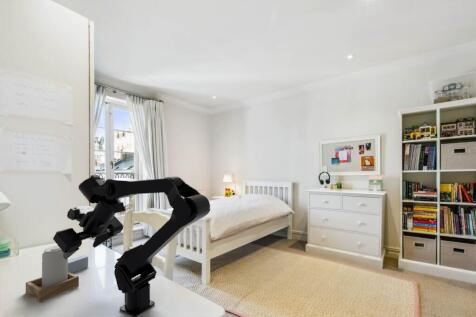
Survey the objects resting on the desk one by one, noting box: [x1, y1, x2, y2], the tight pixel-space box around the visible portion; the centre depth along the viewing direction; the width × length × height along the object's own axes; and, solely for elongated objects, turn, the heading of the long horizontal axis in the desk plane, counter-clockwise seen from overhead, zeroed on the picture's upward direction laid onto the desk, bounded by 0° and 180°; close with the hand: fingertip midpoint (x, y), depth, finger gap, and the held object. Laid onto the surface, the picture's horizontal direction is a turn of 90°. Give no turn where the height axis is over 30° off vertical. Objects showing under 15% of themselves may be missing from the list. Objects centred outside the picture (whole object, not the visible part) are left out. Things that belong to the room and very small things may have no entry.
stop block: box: [68, 254, 89, 274], centre depth 86 cm, size 3×8×4 cm, turn 150°
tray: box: [25, 272, 80, 303], centre depth 73 cm, size 10×10×3 cm
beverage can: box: [41, 245, 69, 289], centre depth 74 cm, size 6×6×12 cm
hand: (80, 252), depth 72 cm, fingers open, 9 cm apart
